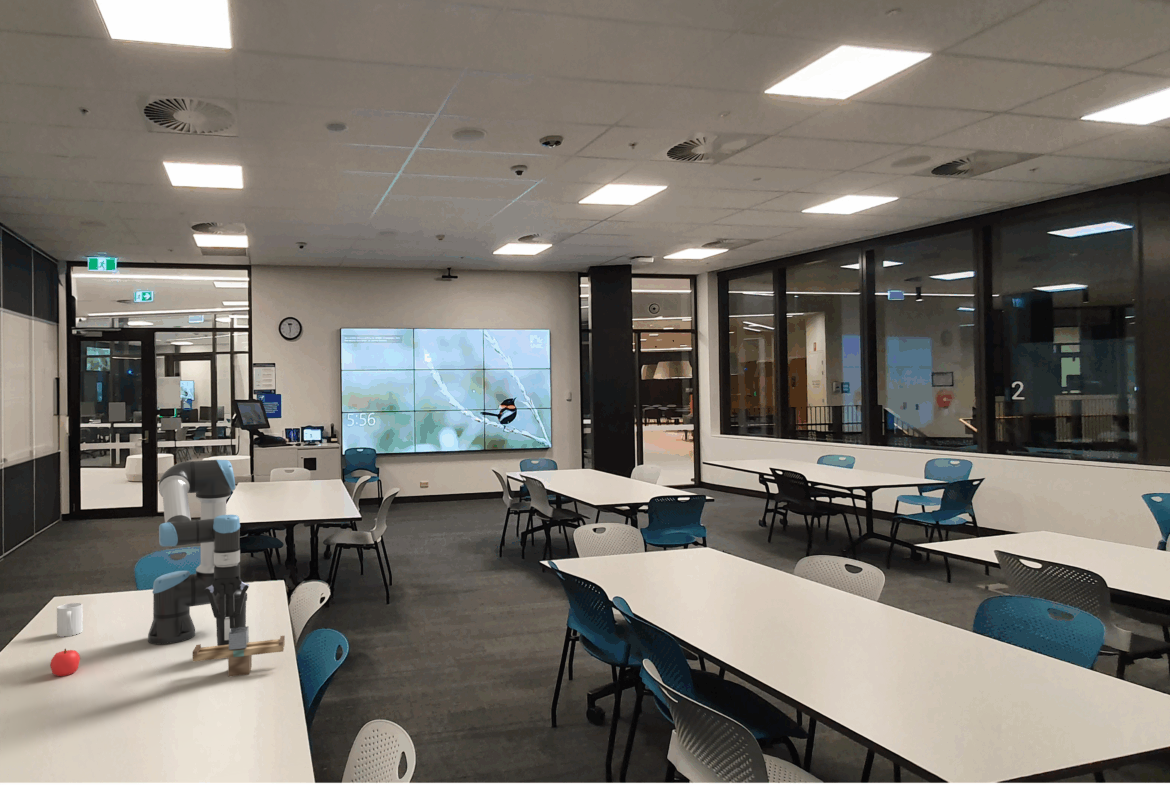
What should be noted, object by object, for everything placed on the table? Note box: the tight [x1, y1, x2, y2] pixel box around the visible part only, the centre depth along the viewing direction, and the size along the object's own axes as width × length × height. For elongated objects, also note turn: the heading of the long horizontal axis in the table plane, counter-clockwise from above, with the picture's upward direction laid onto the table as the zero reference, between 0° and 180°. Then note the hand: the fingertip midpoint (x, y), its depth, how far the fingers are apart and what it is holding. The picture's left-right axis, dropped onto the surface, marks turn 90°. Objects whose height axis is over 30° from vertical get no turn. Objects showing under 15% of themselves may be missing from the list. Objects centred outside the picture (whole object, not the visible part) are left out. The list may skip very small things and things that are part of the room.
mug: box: [56, 602, 84, 638], centre depth 276 cm, size 12×8×10 cm, turn 32°
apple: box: [50, 648, 81, 677], centre depth 237 cm, size 8×8×8 cm
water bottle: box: [215, 586, 248, 646], centre depth 254 cm, size 10×10×23 cm
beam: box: [192, 635, 286, 678], centre depth 237 cm, size 26×7×9 cm, turn 109°
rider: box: [229, 625, 250, 650], centre depth 237 cm, size 5×6×7 cm
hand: (227, 638), depth 236 cm, fingers closed
